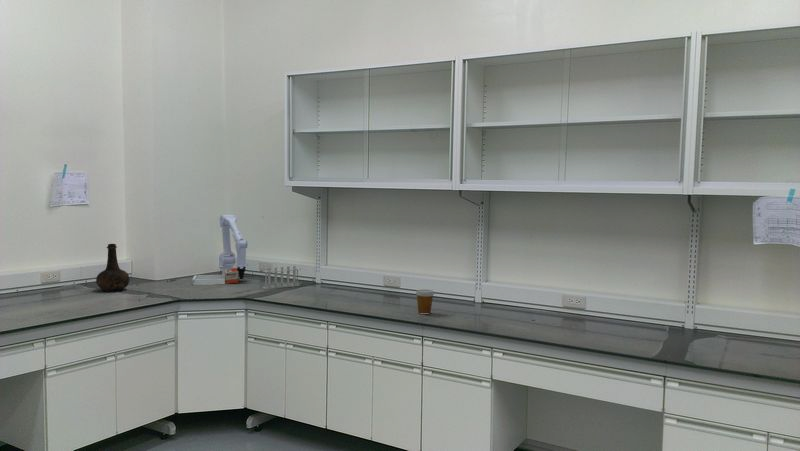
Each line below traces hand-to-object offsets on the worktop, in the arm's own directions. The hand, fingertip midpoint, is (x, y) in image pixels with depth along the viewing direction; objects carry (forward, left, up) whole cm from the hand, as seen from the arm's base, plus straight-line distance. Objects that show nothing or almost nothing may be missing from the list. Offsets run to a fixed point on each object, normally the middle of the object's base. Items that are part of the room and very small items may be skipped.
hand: (241, 278), depth 390 cm
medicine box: (-1, -6, -3) cm, 7 cm away
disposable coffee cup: (+112, +94, -3) cm, 146 cm away
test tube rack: (+22, +25, -3) cm, 33 cm away
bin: (0, -20, -3) cm, 21 cm away
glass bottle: (+22, -74, -3) cm, 78 cm away
